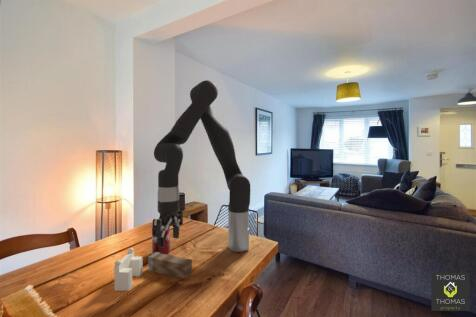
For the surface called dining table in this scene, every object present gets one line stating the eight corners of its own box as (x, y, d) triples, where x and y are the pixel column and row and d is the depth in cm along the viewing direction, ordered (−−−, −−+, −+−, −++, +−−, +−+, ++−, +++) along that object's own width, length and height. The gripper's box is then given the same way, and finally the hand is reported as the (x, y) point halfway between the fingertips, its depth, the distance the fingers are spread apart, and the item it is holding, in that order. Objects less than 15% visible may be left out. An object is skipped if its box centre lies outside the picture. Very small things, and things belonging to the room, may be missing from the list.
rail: (192, 272, 84) (191, 258, 84) (185, 279, 80) (185, 264, 80) (156, 264, 89) (155, 251, 89) (148, 270, 86) (148, 256, 85)
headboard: (142, 272, 84) (142, 247, 83) (128, 290, 73) (128, 261, 73) (130, 272, 84) (129, 247, 83) (114, 290, 74) (113, 261, 73)
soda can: (153, 259, 94) (152, 230, 93) (151, 251, 100) (150, 224, 100) (171, 255, 97) (171, 227, 96) (168, 248, 104) (167, 222, 103)
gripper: (172, 193, 91) (172, 233, 92) (145, 201, 78) (146, 248, 79) (188, 195, 89) (188, 236, 90) (163, 204, 75) (164, 252, 76)
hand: (168, 242), depth 84 cm, fingers open, 8 cm apart
